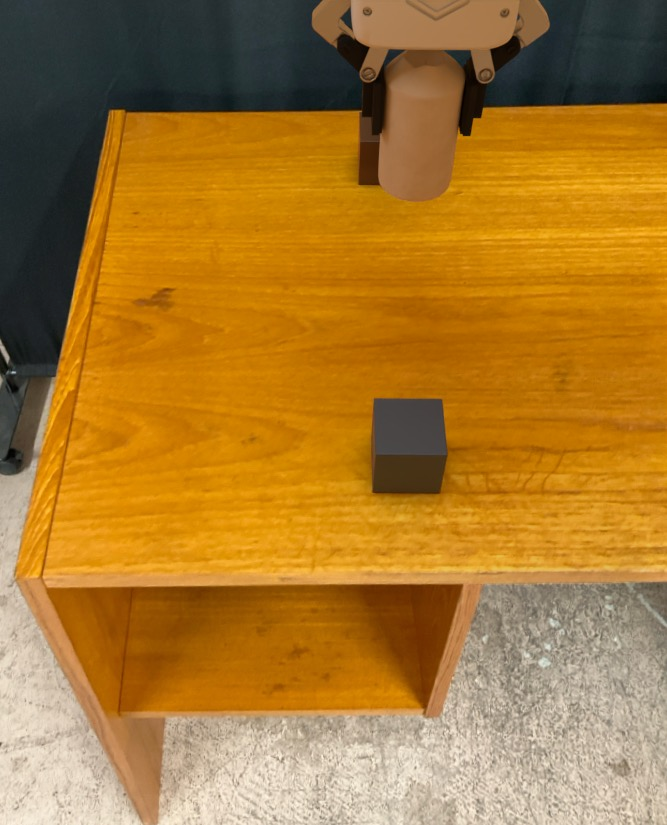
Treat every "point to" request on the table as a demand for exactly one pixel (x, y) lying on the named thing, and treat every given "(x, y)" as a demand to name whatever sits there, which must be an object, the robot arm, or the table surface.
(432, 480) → the near block
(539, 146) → the table surface
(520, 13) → the robot arm
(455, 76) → the candle
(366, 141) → the far block
